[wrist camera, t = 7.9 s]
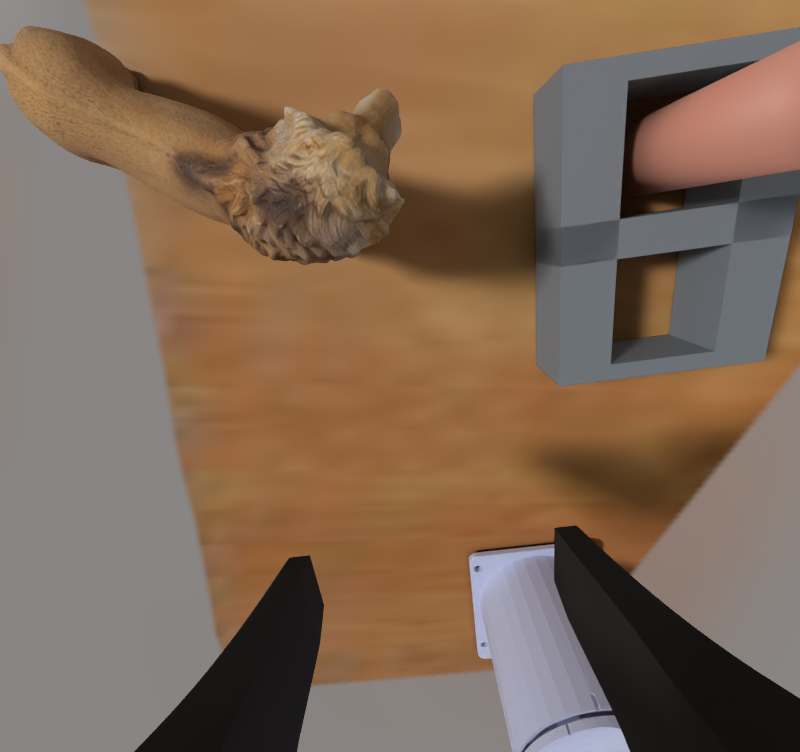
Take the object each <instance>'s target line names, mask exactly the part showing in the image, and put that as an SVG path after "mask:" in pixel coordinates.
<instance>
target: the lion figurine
mask: <svg viewBox="0 0 800 752" xmlns="http://www.w3.org/2000/svg"><path fill="white" fill-rule="evenodd" d="M0 71H1V72H2V73H3V75H4V76H5V77H6V80H7V85H8V90H9V93H10V95H11V97H12V98H13V100H14V101H15V103H16V105H17V106H18V108H19V109H20V110H21V112H22V113H23V114H24V115H25V116H26V118H27V119H28V120H29V121H30V122H31V123H32V124H33V125H35V126H36V127H37V128H38V129H39V130H40V131H42V132H43V133H44V134H45V135H46V136H48V137H49V138H50V139H51V140H53V141H54V142H55V143H57V144H58V145H59V146H61V147H62V148H64V149H65V150H67V151H69V152H71V153H73V154H75V155H76V156H78V157H81V158H83V159H86V160H88V161H91V162H94V163H98V164H102V165H107V166H110V167H113V168H116V169H119V170H121V171H123V172H125V173H127V174H129V175H131V176H132V177H134V178H136V179H137V180H139V181H141V182H142V183H144V184H146V185H147V186H149V187H151V188H153V189H154V190H156V191H158V192H159V193H161V194H163V195H165V196H166V197H168V198H170V199H171V200H173V201H175V202H176V203H178V204H180V205H182V206H184V207H185V208H187V209H189V210H192V211H194V212H196V213H198V214H201V215H203V216H205V217H208V218H210V219H213V220H215V221H218V222H222V223H225V224H228V225H230V226H231V227H232V228H233V229H234V230H235V231H237V232H238V233H239V234H240V235H241V236H242V237H243V239H244V240H245V241H246V242H247V243H248V244H250V245H251V246H252V247H253V248H254V249H256V250H257V251H258V252H259V253H260V254H262V255H264V256H269V257H270V258H271V259H272V260H281V261H289V260H291V261H298V262H299V263H300V264H303V265H307V264H310V263H327V262H328V261H329V260H334V261H338V260H341V259H344V258H345V257H348V258H353V257H355V256H357V254H358V253H359V251H360V250H361V249H363V248H367V247H369V246H371V245H373V244H377V243H379V242H380V240H381V239H382V238H383V237H385V236H386V235H388V234H389V225H390V224H391V223H392V221H393V219H394V218H395V216H397V215H398V214H399V212H400V209H401V207H402V205H403V204H404V202H405V199H403V198H401V197H400V194H399V193H398V191H397V190H396V188H395V186H394V184H393V183H392V182H391V181H390V180H389V174H388V168H389V163H390V153H391V150H392V148H393V147H394V145H395V144H396V142H397V141H398V139H399V137H400V135H401V121H400V117H399V105H398V103H397V101H396V99H395V97H394V96H393V95H392V93H391V92H390V91H389V90H387V89H384V88H379V89H375V90H374V91H373V92H372V93H371V95H369V96H367V97H365V98H363V99H362V100H361V101H360V102H359V103H358V105H357V106H356V108H355V110H354V111H353V113H347V112H345V111H341V110H337V111H333V112H331V113H330V114H328V115H326V116H325V117H323V118H321V119H317V118H314V117H312V116H311V115H309V114H307V113H304V112H299V111H297V110H296V109H294V108H291V107H288V106H286V107H285V108H284V119H280V120H279V121H278V123H277V124H276V125H275V126H274V127H268V128H266V129H265V130H264V131H249V132H243V131H242V130H240V129H239V128H237V127H236V126H234V125H233V124H231V123H229V122H227V121H225V120H223V119H222V118H220V117H218V116H216V115H214V114H212V113H209V112H207V111H204V110H201V109H199V108H196V107H193V106H190V105H187V104H184V103H181V102H177V101H174V100H171V99H168V98H165V97H161V96H157V95H153V94H150V93H145V92H141V91H139V88H138V82H137V79H136V78H135V77H134V75H133V73H132V72H131V71H130V70H129V69H128V68H126V67H125V66H124V65H123V64H122V63H121V62H120V61H119V60H118V59H117V58H116V57H115V56H114V55H112V54H111V53H109V52H108V51H106V50H105V49H103V48H101V47H100V46H98V45H96V44H94V43H92V42H90V41H88V40H86V39H84V38H80V37H78V36H74V35H69V34H66V33H63V32H59V31H55V30H50V29H46V28H40V27H33V26H27V27H24V28H22V29H21V30H20V31H19V32H18V33H17V35H16V37H15V39H14V42H13V43H12V44H9V45H7V44H1V45H0Z"/></svg>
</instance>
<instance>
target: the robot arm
mask: <svg viewBox="0 0 800 752" xmlns="http://www.w3.org/2000/svg"><path fill="white" fill-rule="evenodd" d="M476 566H479V567H476ZM469 567H470V577H471V588H472V599H473V609H474V620H475V631H476V641H477V651H478V655H479V657H480V658H483V659H488V658H492V662H493V667H494V671H495V676H496V680H497V684H498V689H499V694H500V698H501V702H502V707H503V711H504V716H505V721H506V725H507V730H508V734H509V739H510V743H511V747H512V752H800V698H798V697H796V696H795V695H793V694H792V693H790V692H789V691H787V690H785V689H784V688H782V687H781V686H779V685H777V684H776V683H774V682H773V681H771V680H770V679H768V678H767V677H765V676H763V675H762V674H760V673H759V672H757V671H755V670H754V669H753V668H751V667H750V666H748V665H747V664H745V663H744V662H742V661H741V660H739V659H738V658H736V657H735V656H733V655H732V654H730V653H729V652H727V651H726V650H725V649H723V648H722V647H721V646H719V645H718V644H716V643H715V642H714V641H712V640H711V639H709V638H708V637H707V636H705V635H704V634H703V633H701V632H700V631H698V630H697V629H696V628H695V627H693V626H692V625H691V624H689V623H688V622H687V621H685V620H684V619H683V618H681V617H680V616H679V615H678V614H677V613H675V612H674V611H673V610H672V609H670V608H669V607H668V606H666V605H665V604H664V603H663V602H661V601H660V600H659V599H658V598H656V597H655V596H654V595H653V594H652V593H650V592H649V591H648V590H647V589H646V588H645V587H643V586H642V585H641V584H640V583H639V582H638V581H637V580H635V579H634V578H633V577H632V576H631V575H630V574H629V573H627V572H626V571H625V570H624V569H623V568H622V567H621V566H619V565H618V564H617V563H616V562H615V561H614V560H613V559H612V558H611V557H610V556H608V555H607V554H606V553H605V552H604V551H603V550H602V549H601V548H600V547H599V546H598V545H597V544H596V543H594V542H593V541H592V540H591V539H590V538H589V537H588V536H587V535H586V534H585V533H584V532H583V531H582V530H581V529H580V528H578V527H577V526H568V527H559V528H555V535H554V544H550V545H541V546H532V547H523V548H514V549H504V550H495V551H486V552H477V553H473V554H471V555H470V557H469ZM323 610H324V604H323V600H322V597H321V593H320V590H319V586H318V583H317V579H316V576H315V572H314V569H313V565H312V562H311V558H310V556H301V557H292V558H289V559H288V560H287V562H286V563H285V565H284V566H283V568H282V569H281V571H280V572H279V574H278V575H277V577H276V578H275V580H274V581H273V583H272V584H271V586H270V587H269V588H268V590H267V591H266V593H265V594H264V596H263V597H262V599H261V600H260V602H259V603H258V604H257V606H256V607H255V609H254V610H253V611H252V613H251V614H250V616H249V617H248V618H247V620H246V621H245V623H244V624H243V625H242V627H241V628H240V630H239V631H238V632H237V634H236V635H235V636H234V638H233V639H232V640H231V642H230V643H229V644H228V645H227V647H226V648H225V649H224V651H223V652H222V653H221V654H220V656H219V657H218V658H217V660H216V661H215V662H214V664H213V665H212V666H211V667H210V669H209V670H208V671H207V672H206V673H205V674H204V676H203V677H202V678H201V679H200V681H199V682H198V683H197V684H196V685H195V687H194V688H193V689H192V690H191V691H190V692H189V693H188V695H187V696H186V697H185V698H184V699H183V700H182V701H181V703H180V704H179V705H178V706H177V707H176V708H175V709H174V710H173V711H172V712H171V714H170V715H169V716H168V717H167V718H166V719H165V720H164V721H163V722H162V723H161V724H160V725H159V726H158V728H157V729H156V730H155V731H154V732H153V733H152V734H151V735H150V736H149V737H148V738H147V739H146V740H145V741H144V742H143V743H142V744H141V745H140V746H139V747H138V748H137V750H136V751H135V752H297V747H298V742H299V737H300V733H301V728H302V724H303V719H304V714H305V710H306V706H307V701H308V696H309V692H310V687H311V683H312V678H313V673H314V669H315V664H316V659H317V655H318V650H319V645H320V637H321V629H322V619H323Z"/></svg>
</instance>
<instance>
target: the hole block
mask: <svg viewBox="0 0 800 752" xmlns="http://www.w3.org/2000/svg"><path fill="white" fill-rule="evenodd" d="M799 41H800V27H798V28H791V29H785V30H779V31H773V32H766V33H760V34H754V35H748V36H741V37H735V38H729V39H722V40H716V41H710V42H704V43H697V44H691V45H685V46H679V47H672V48H666V49H660V50H653V51H647V52H641V53H635V54H628V55H622V56H616V57H610V58H603V59H597V60H591V61H584V62H578V63H572V64H566V65H563V66H562V67H561V68H560V69H559V70H558V71H557V72H556V73H555V74H554V75H553V76H552V77H551V78H550V79H549V80H548V81H547V82H546V83H545V84H544V85H543V86H542V87H541V88H540V89H539V90H538V91H537V92H536V93H535V94H534V165H535V262H536V359H537V366H538V367H539V368H540V369H541V370H542V371H543V372H544V373H545V374H546V375H548V376H549V377H550V378H551V379H552V380H553V381H554V382H555V383H556V384H557V385H558V386H559V387H560V386H568V385H576V384H584V383H592V382H600V381H608V380H616V379H624V378H632V377H640V376H648V375H656V374H664V373H672V372H680V371H688V370H696V369H704V368H712V367H719V366H727V365H735V364H743V363H751V362H759V361H765V356H766V351H767V346H768V342H769V337H770V332H771V327H772V322H773V318H774V313H775V308H776V303H777V299H778V294H779V289H780V284H781V279H782V275H783V270H784V265H785V260H786V256H787V251H788V246H789V241H790V236H791V232H792V227H793V222H794V217H795V213H796V208H797V203H798V198H799V193H800V170H794V171H788V172H782V173H775V174H769V175H763V176H757V177H751V178H745V179H739V180H733V181H727V182H721V183H715V184H709V185H703V186H697V187H691V188H686V192H685V200H684V208H677V209H670V210H663V211H656V212H649V213H642V214H635V215H628V216H621V217H620V205H621V189H622V173H623V156H624V140H625V124H626V107H627V101H633V100H640V99H646V98H652V97H659V96H665V95H672V94H678V93H685V92H691V91H698V90H700V89H702V88H704V87H706V86H708V85H710V84H712V83H714V82H716V81H718V80H720V79H722V78H724V77H726V76H728V75H731V74H733V73H735V72H737V71H739V70H741V69H743V68H745V67H747V66H749V65H751V64H753V63H755V62H757V61H759V60H761V59H764V58H766V57H768V56H770V55H772V54H774V53H776V52H778V51H780V50H782V49H784V48H786V47H788V46H790V45H792V44H794V43H796V42H799ZM674 251H679V253H678V262H677V270H676V279H675V288H674V296H673V305H672V314H671V323H670V331H669V335H661V336H653V337H646V338H638V339H630V340H622V341H615V342H612V335H613V319H614V303H615V287H616V270H617V259H624V258H631V257H638V256H646V255H653V254H660V253H667V252H674Z"/></svg>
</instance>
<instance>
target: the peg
mask: <svg viewBox="0 0 800 752" xmlns="http://www.w3.org/2000/svg"><path fill="white" fill-rule="evenodd" d="M794 170H800V41H799V42H796V43H794V44H792V45H790V46H788V47H786V48H784V49H782V50H780V51H778V52H776V53H774V54H772V55H770V56H768V57H766V58H764V59H761V60H759V61H757V62H755V63H753V64H751V65H749V66H747V67H745V68H743V69H741V70H739V71H737V72H735V73H733V74H731V75H728V76H726V77H724V78H722V79H720V80H718V81H716V82H714V83H712V84H710V85H708V86H706V87H704V88H702V89H700V90H698V91H696V92H693V93H691V94H689V95H687V96H685V97H683V98H681V99H679V100H677V101H675V102H673V103H671V104H669V105H667V106H665V107H663V108H660V109H658V110H656V111H654V112H652V113H650V114H648V115H646V116H644V117H642V118H640V119H638V120H636V121H634V122H632V123H630V124H628V125H626V126H625V140H624V156H623V173H622V189H621V195H622V196H626V197H637V196H643V195H649V194H655V193H661V192H667V191H673V190H679V189H685V188H691V187H697V186H703V185H709V184H715V183H721V182H727V181H733V180H739V179H745V178H751V177H757V176H763V175H769V174H775V173H782V172H788V171H794Z"/></svg>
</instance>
